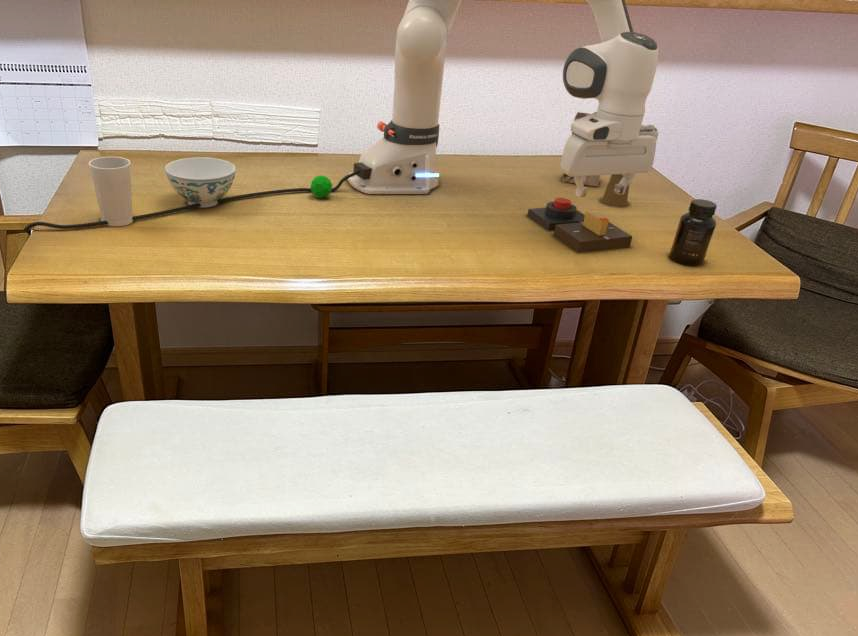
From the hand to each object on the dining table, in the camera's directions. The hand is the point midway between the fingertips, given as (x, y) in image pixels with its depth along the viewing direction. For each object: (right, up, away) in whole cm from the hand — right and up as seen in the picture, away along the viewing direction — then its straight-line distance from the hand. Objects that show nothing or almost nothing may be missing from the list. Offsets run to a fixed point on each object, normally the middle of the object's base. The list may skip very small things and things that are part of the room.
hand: (599, 194), depth 155 cm
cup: (-100, -5, +1) cm, 100 cm away
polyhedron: (-59, +5, +20) cm, 62 cm away
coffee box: (+8, +15, +40) cm, 43 cm away
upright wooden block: (0, -6, +5) cm, 8 cm away
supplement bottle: (+18, -13, +1) cm, 23 cm away
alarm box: (-5, -2, +15) cm, 16 cm away
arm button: (-4, +1, +13) cm, 14 cm away
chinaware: (-85, +2, +12) cm, 86 cm away
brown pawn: (+12, +6, +28) cm, 31 cm away
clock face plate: (0, -8, +6) cm, 10 cm away
